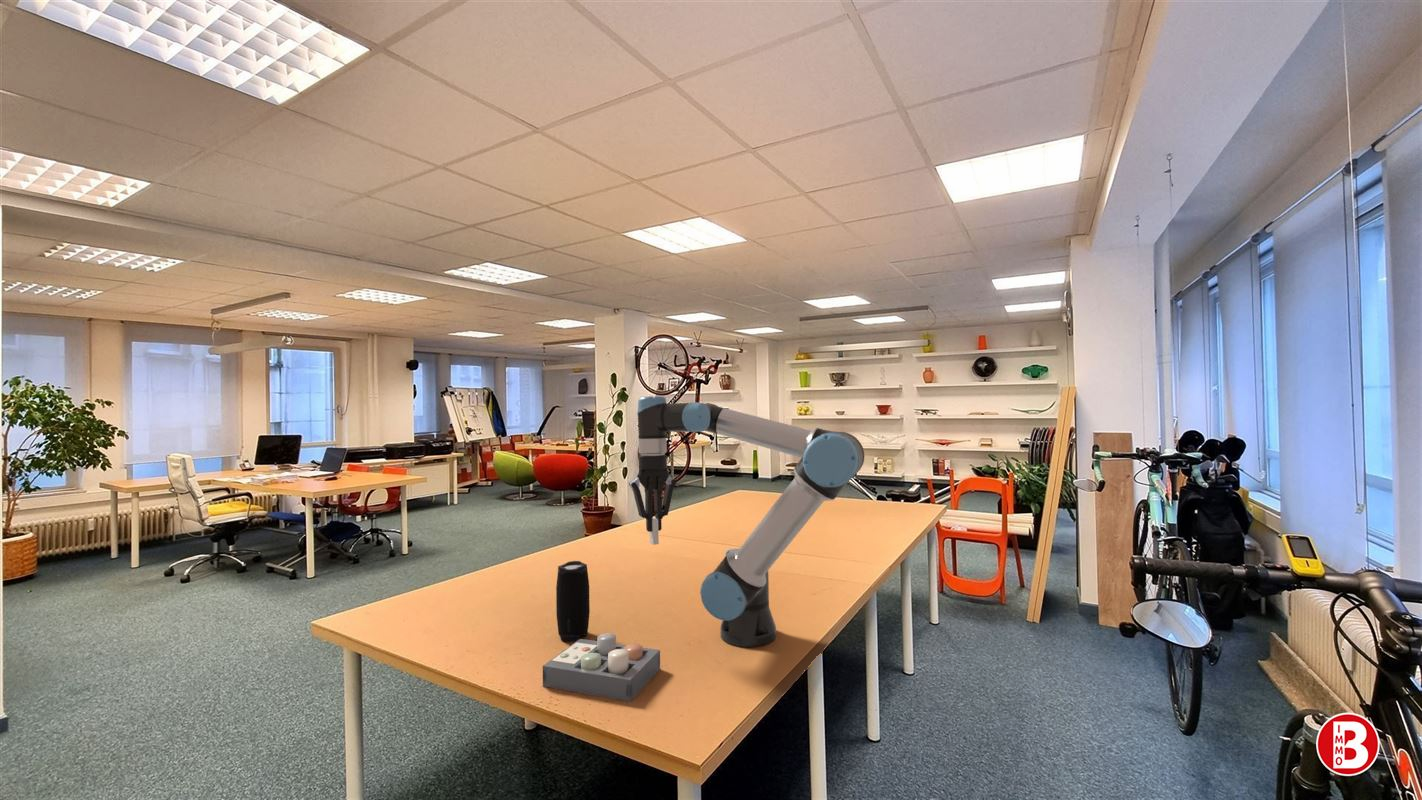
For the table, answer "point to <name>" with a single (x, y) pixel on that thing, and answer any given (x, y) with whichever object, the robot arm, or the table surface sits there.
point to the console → (599, 672)
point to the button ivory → (618, 662)
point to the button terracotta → (634, 652)
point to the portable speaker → (572, 600)
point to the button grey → (606, 643)
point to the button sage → (591, 661)
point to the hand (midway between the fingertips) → (654, 543)
